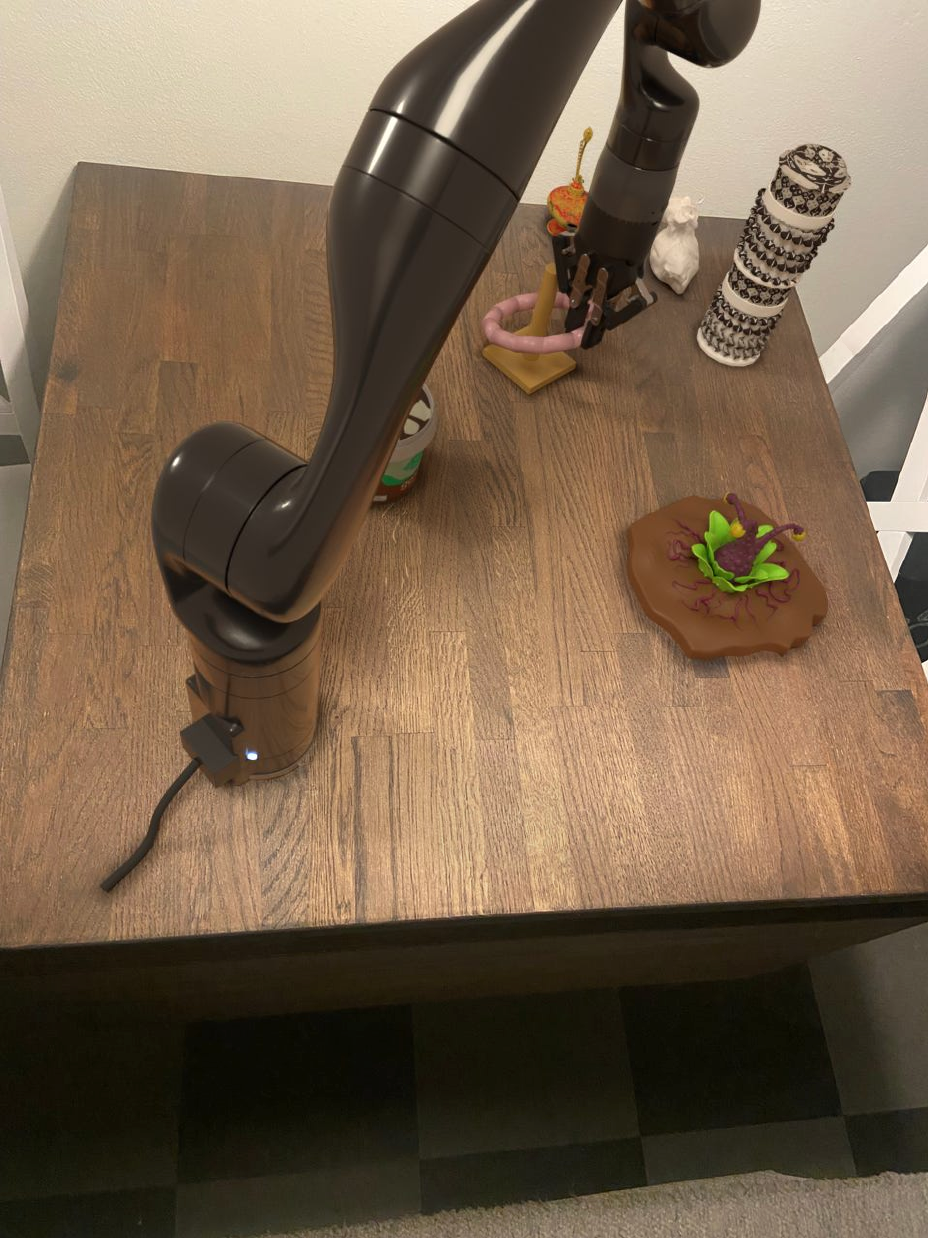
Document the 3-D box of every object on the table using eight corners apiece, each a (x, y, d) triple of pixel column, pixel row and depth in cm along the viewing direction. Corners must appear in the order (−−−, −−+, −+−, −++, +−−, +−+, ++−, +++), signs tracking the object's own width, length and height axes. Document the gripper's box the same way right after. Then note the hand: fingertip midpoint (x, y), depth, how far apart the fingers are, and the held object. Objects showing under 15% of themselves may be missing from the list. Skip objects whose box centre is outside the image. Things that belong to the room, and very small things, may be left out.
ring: (546, 368, 98) (545, 352, 96) (459, 334, 105) (458, 319, 104) (627, 323, 104) (628, 308, 103) (540, 294, 112) (539, 280, 111)
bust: (663, 261, 129) (636, 189, 121) (717, 242, 125) (692, 167, 117) (658, 313, 122) (628, 241, 114) (714, 296, 118) (688, 220, 111)
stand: (528, 394, 106) (555, 302, 95) (482, 354, 109) (503, 259, 98) (574, 368, 110) (605, 276, 99) (528, 330, 112) (554, 236, 102)
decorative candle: (733, 378, 114) (832, 192, 93) (679, 335, 117) (763, 145, 96) (776, 352, 118) (880, 169, 97) (723, 311, 121) (813, 124, 100)
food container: (411, 529, 93) (423, 462, 84) (352, 514, 92) (359, 444, 84) (437, 444, 99) (451, 374, 91) (382, 430, 99) (391, 358, 91)
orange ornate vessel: (533, 271, 119) (553, 192, 110) (545, 194, 129) (565, 116, 120) (584, 282, 119) (608, 205, 110) (592, 205, 129) (615, 128, 120)
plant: (590, 531, 96) (623, 458, 87) (740, 493, 103) (785, 421, 94) (685, 690, 87) (733, 628, 78) (842, 637, 94) (903, 574, 85)
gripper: (551, 168, 87) (513, 316, 101) (657, 246, 83) (602, 390, 97) (602, 147, 91) (559, 293, 105) (706, 222, 86) (647, 363, 101)
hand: (580, 339), depth 101 cm, fingers closed on ring, 2 cm apart
